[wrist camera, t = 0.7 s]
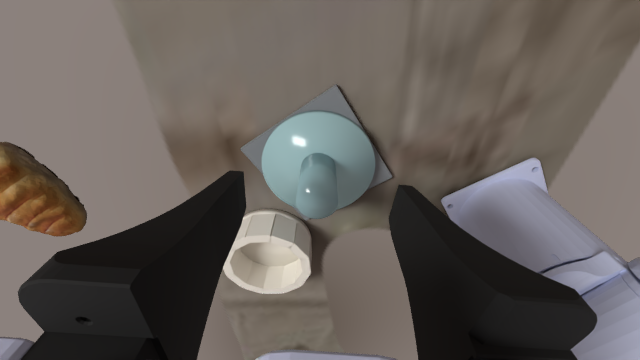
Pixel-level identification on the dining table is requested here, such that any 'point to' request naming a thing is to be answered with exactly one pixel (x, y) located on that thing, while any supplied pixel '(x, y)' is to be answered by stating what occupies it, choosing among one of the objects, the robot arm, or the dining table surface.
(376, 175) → the mat
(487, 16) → the dining table surface
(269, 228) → the bowl
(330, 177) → the lid
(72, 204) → the pastry
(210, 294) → the robot arm
